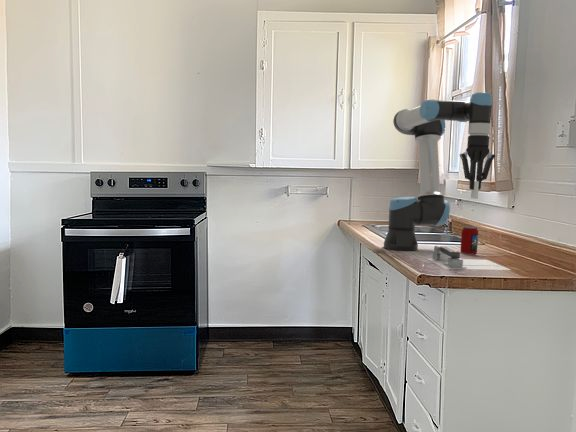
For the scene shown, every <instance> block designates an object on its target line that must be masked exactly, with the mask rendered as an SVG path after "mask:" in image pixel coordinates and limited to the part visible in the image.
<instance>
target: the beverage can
mask: <svg viewBox="0 0 576 432" xmlns="http://www.w3.org/2000/svg"><path fill="white" fill-rule="evenodd" d="M478 241H479V229H478V227H477V226H472V225H471V226H470V225H465V226H463V228H462V229H461V237H460V251H459V252H460V253H463V254H471V255H477V254H478Z"/></svg>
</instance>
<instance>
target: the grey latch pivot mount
mask: <svg viewBox="0 0 576 432" xmlns="http://www.w3.org/2000/svg"><path fill="white" fill-rule="evenodd" d="M463 259H464V258H461V257H460V258H451V257H450V256H449V257H448V264H444V265H445V266H447V267H449V268H465V269H464V270H467V269H466V268H467V267H465V266H463Z"/></svg>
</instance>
